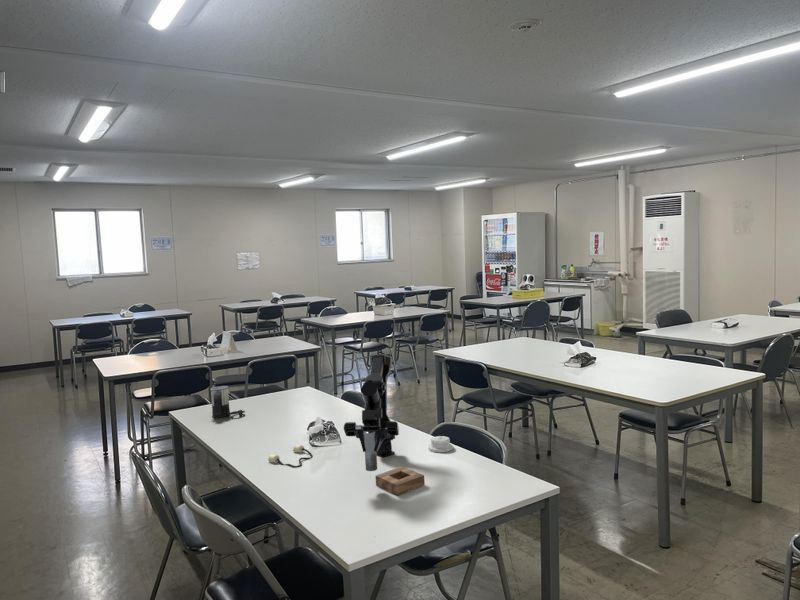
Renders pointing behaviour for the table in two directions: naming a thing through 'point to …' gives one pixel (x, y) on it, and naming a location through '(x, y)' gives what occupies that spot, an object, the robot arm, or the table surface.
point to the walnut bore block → (400, 480)
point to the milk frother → (221, 402)
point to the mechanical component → (440, 444)
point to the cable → (296, 449)
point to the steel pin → (370, 450)
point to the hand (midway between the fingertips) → (370, 451)
